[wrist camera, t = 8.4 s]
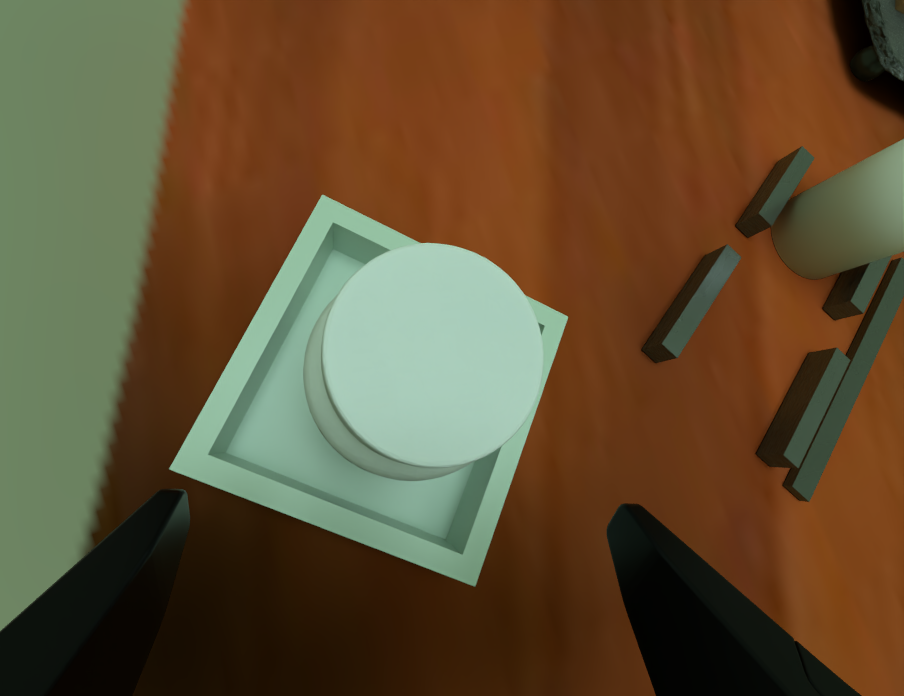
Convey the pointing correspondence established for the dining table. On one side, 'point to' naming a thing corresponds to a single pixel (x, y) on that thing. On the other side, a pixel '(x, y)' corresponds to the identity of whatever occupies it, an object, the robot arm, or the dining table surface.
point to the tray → (302, 444)
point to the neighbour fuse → (845, 218)
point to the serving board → (881, 41)
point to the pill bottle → (423, 362)
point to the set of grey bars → (823, 372)
